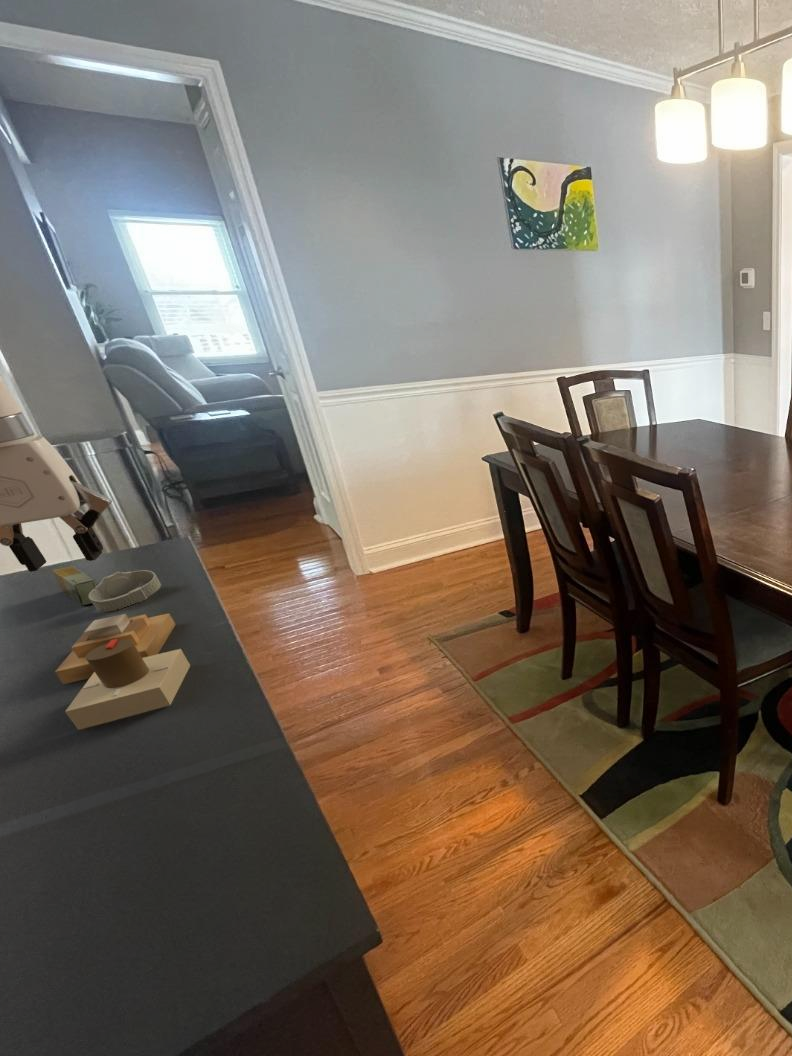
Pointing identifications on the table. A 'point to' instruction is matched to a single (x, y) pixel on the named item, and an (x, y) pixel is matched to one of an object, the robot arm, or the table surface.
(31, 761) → the table surface
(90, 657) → the volume knob
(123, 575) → the grey woven basket
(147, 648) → the block
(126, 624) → the grey square frustum
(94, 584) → the medication box
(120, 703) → the volume panel
